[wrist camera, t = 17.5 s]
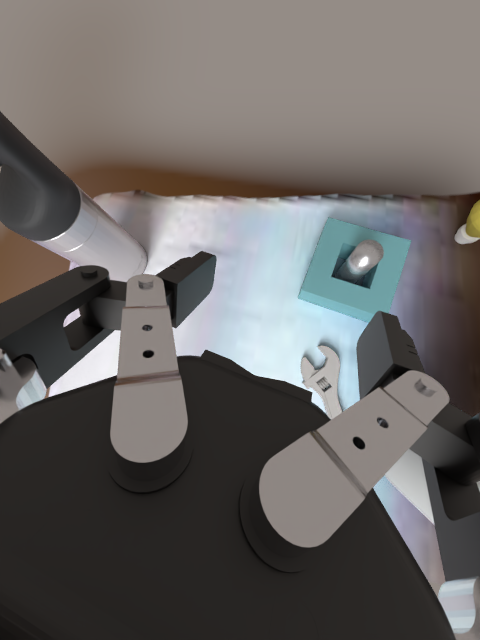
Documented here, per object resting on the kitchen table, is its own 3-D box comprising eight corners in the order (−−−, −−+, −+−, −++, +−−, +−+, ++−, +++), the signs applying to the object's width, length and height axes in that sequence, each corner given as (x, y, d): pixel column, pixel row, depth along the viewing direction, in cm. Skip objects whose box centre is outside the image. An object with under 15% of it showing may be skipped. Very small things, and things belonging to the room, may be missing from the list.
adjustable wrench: (372, 508, 37) (377, 515, 35) (329, 513, 37) (332, 521, 36) (333, 345, 41) (335, 344, 40) (295, 351, 42) (296, 351, 40)
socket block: (297, 298, 43) (301, 289, 38) (321, 233, 45) (328, 217, 40) (372, 323, 41) (386, 318, 36) (394, 254, 43) (411, 240, 38)
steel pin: (332, 283, 43) (352, 259, 33) (338, 264, 43) (360, 236, 33) (352, 289, 42) (379, 268, 32) (359, 271, 43) (387, 244, 33)
